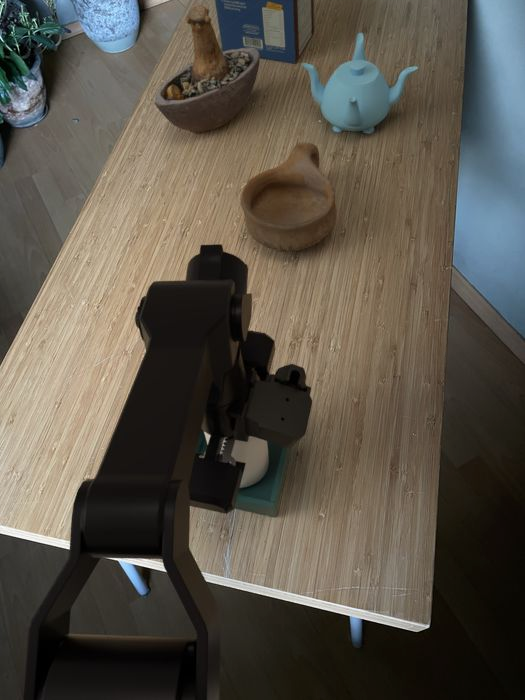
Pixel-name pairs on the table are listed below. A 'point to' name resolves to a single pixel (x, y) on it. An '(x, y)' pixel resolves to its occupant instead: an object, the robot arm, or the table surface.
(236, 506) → the teal shallow tray
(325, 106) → the teapot
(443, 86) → the table surface
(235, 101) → the planter
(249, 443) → the can
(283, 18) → the protein box
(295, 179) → the bowl
